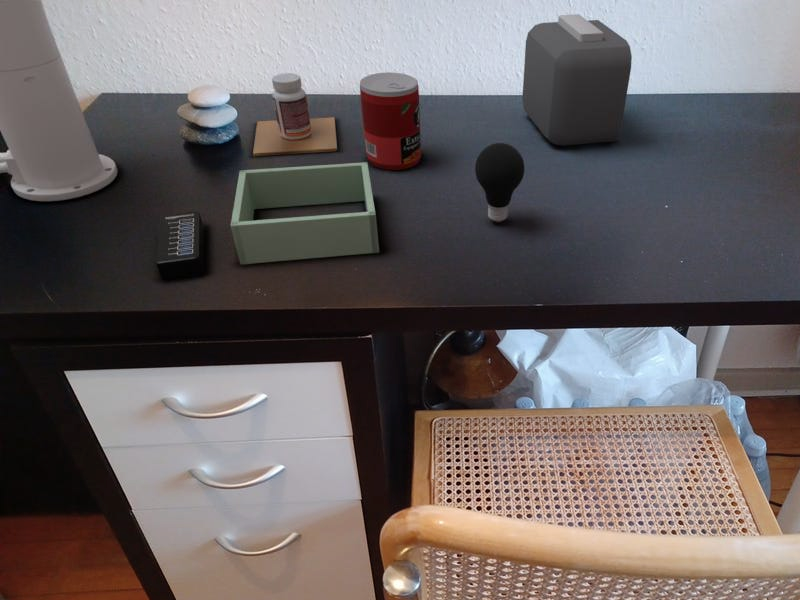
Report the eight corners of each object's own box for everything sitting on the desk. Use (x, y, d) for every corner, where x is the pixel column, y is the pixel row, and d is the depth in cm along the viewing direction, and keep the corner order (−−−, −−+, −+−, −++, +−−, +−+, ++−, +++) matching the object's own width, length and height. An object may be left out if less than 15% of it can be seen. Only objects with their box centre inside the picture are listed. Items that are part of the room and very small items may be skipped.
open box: (240, 264, 74) (230, 225, 71) (248, 206, 84) (239, 170, 81) (379, 252, 77) (375, 214, 73) (370, 197, 87) (367, 161, 83)
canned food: (413, 173, 92) (409, 94, 85) (359, 167, 93) (350, 88, 86) (427, 151, 98) (425, 74, 91) (376, 145, 99) (369, 69, 92)
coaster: (253, 156, 95) (252, 153, 95) (257, 124, 104) (257, 121, 104) (337, 151, 97) (337, 148, 97) (334, 120, 106) (334, 117, 106)
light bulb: (497, 205, 86) (500, 130, 79) (530, 222, 83) (536, 146, 76) (464, 221, 83) (465, 144, 76) (497, 239, 80) (501, 160, 73)
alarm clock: (618, 147, 100) (636, 37, 90) (547, 153, 98) (557, 42, 88) (580, 107, 112) (592, 7, 102) (516, 112, 110) (522, 10, 100)
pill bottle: (318, 132, 101) (310, 76, 95) (296, 143, 98) (286, 85, 92) (295, 125, 103) (286, 69, 97) (273, 135, 100) (262, 78, 94)
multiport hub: (161, 281, 72) (154, 263, 70) (165, 231, 79) (159, 214, 78) (203, 275, 73) (198, 257, 71) (204, 226, 80) (199, 209, 79)
